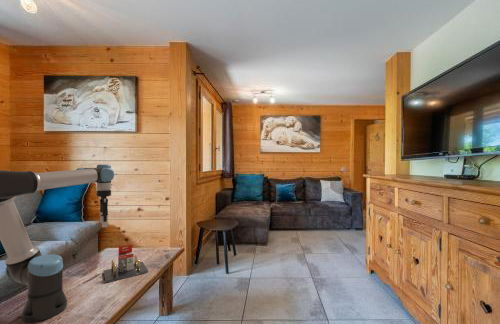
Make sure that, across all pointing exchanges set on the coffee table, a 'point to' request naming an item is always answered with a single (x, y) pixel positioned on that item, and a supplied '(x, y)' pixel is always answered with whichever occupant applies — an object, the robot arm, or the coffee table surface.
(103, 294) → the coffee table surface
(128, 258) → the ink box
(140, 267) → the plate
